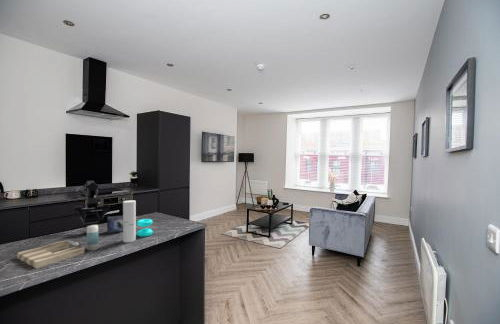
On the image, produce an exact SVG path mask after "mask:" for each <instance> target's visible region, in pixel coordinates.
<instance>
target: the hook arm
mask: <svg viewBox="0 0 500 324" xmlns="http://www.w3.org/2000/svg"><path fill="white" fill-rule="evenodd" d="M64 241H65V242H66V243H69V245H73V247H75V246H77V247H79V246H81V244H80V243H78V242H75V241H73V240H70V239H68V238H67V239H64Z"/></svg>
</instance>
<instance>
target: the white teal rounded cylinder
mask: <svg viewBox="0 0 500 324" xmlns="http://www.w3.org/2000/svg"><path fill="white" fill-rule="evenodd" d="M98 231H99V225H98V224H96V225H90V226H87V225H86V232H87V234H86V250H87V251H94V250H97V249H99V232H98Z"/></svg>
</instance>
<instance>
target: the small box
mask: <svg viewBox="0 0 500 324" xmlns="http://www.w3.org/2000/svg"><path fill="white" fill-rule="evenodd" d="M106 221H107V223H106V224H107V225H106V229H107V230H106V231H107V232H106V234H107V235H108V234H118V233H123V215H114V216H107V220H106Z"/></svg>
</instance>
